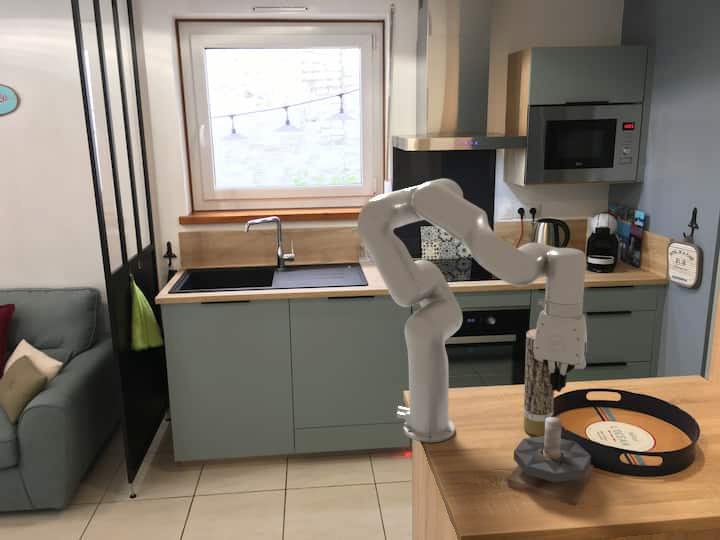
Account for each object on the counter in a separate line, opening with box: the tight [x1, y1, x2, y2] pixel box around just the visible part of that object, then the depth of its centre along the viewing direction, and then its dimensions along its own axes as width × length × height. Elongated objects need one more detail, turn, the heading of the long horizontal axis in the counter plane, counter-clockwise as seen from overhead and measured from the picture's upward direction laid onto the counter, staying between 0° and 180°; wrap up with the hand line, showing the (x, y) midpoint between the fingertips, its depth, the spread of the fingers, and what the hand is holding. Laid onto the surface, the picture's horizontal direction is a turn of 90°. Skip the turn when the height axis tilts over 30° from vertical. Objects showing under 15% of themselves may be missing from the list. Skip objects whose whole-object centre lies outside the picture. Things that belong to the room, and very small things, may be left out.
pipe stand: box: [507, 416, 594, 506], centre depth 134 cm, size 14×14×14 cm
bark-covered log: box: [523, 328, 555, 437], centre depth 153 cm, size 7×7×25 cm
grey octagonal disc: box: [513, 436, 592, 482], centre depth 135 cm, size 14×14×2 cm
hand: (557, 388), depth 138 cm, fingers closed
